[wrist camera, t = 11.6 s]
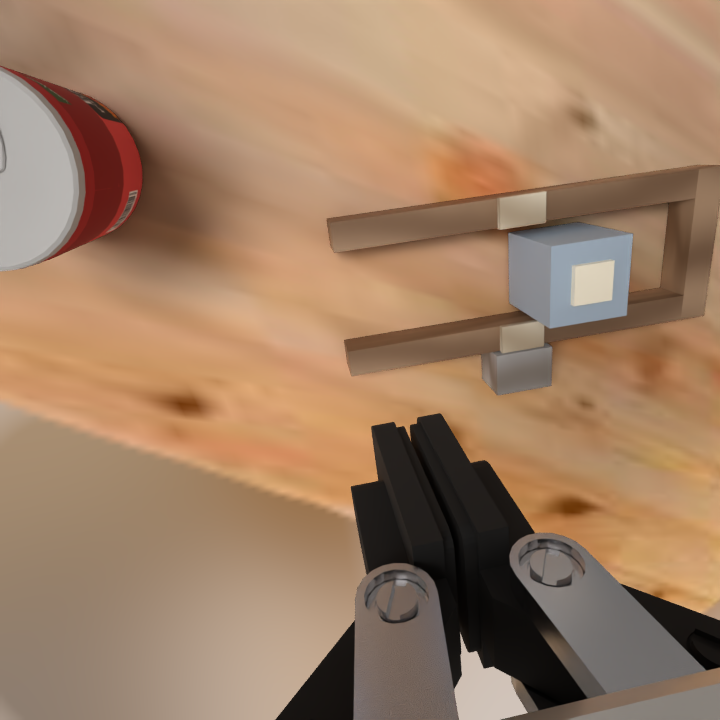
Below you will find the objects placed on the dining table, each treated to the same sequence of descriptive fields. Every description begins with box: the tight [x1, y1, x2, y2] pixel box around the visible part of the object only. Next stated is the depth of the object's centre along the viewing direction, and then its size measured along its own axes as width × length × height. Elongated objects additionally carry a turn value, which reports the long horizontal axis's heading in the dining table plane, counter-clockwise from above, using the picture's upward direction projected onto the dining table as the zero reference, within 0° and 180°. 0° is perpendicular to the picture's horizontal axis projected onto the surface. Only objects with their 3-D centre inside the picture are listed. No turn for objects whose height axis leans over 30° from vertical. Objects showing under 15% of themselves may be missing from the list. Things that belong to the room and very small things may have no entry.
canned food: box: [0, 66, 142, 271], centre depth 25 cm, size 8×8×11 cm
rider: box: [508, 222, 633, 328], centre depth 33 cm, size 5×5×6 cm
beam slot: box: [327, 165, 720, 395], centre depth 35 cm, size 13×26×3 cm, turn 97°
